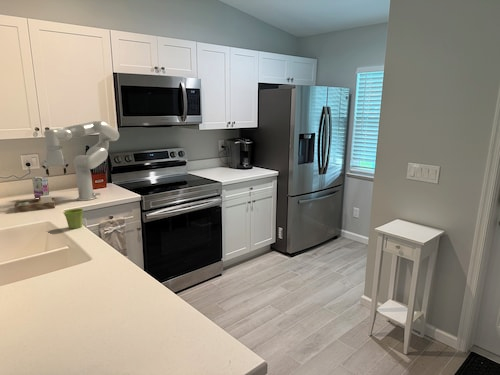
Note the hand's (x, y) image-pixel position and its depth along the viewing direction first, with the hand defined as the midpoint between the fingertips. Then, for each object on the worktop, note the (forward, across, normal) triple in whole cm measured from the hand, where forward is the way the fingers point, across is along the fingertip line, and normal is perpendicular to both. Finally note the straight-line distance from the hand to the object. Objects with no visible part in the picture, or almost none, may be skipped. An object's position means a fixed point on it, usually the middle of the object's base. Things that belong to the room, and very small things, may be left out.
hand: (56, 174), depth 227 cm
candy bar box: (+21, +12, -31) cm, 39 cm away
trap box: (+20, +13, 0) cm, 24 cm away
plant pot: (+21, -7, +66) cm, 70 cm away
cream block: (+17, +8, 0) cm, 19 cm away
